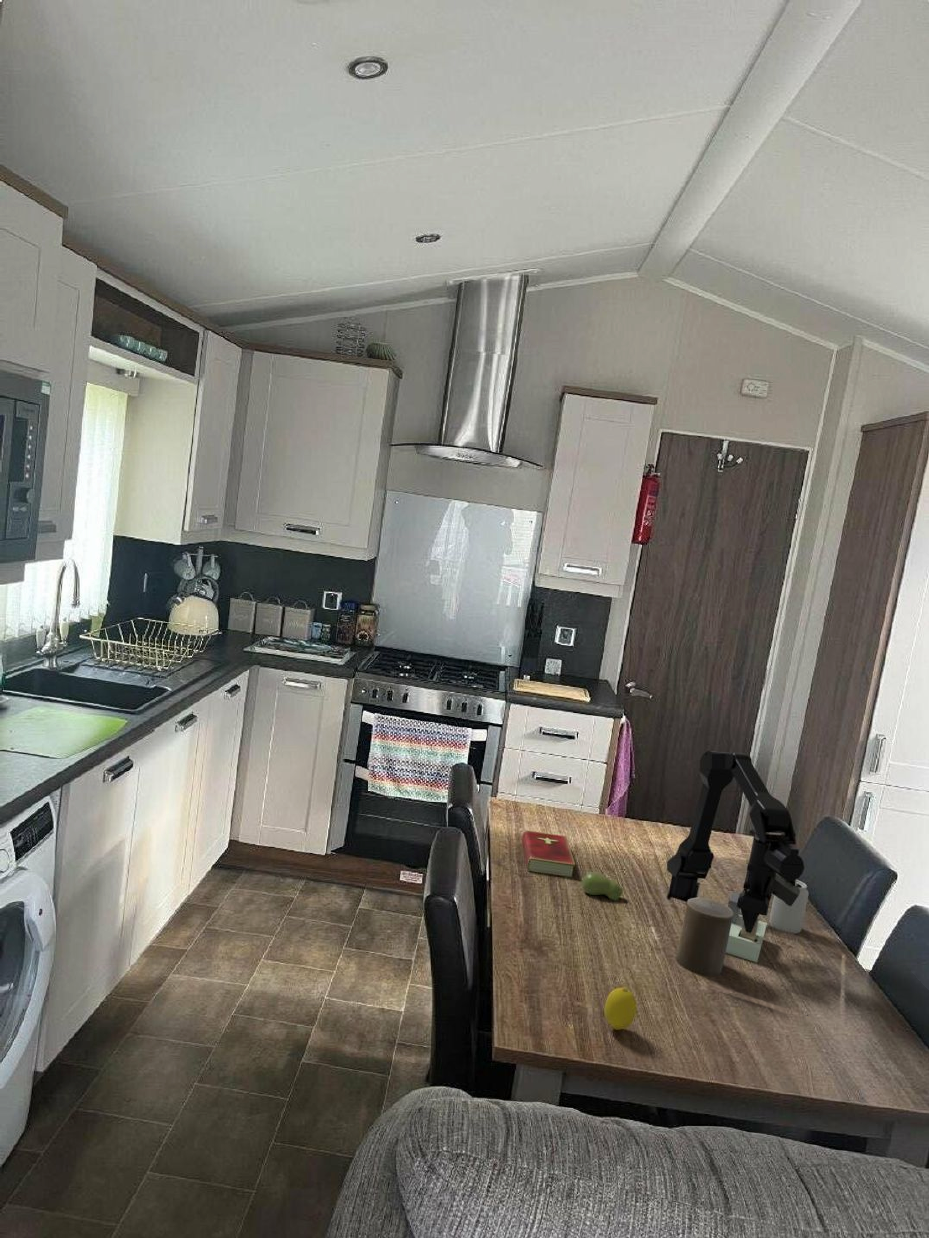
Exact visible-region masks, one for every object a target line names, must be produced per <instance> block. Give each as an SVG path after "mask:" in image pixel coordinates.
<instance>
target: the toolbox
mask: <svg viewBox="0 0 929 1238" xmlns="http://www.w3.org/2000/svg"><path fill="white" fill-rule="evenodd" d="M738 937H740V934H739V936H738ZM763 941H764V940H763ZM763 941H762V944H761V948H760V949H756V948H753V947H750V946H747V945H744V944H740V943H737V942H734V941H731V940H728V943H727V948H726V953H725V954H729V955H732V956H735V957H739V958H741V959H744V960H748V961H751V962H754V963H758V961H759V957H760V954H761V949H762V945H763ZM755 942H757V940H756V939H755Z"/></svg>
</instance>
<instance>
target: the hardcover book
mask: <svg viewBox="0 0 929 1238" xmlns="http://www.w3.org/2000/svg"><path fill="white" fill-rule="evenodd" d="M521 842H522V843H521V844H522V847H523V854H524V859H525V866H526V870H527V872H537V873H542V874H549V875H557V876H563V877H569V878H572V876H573V871H574V870H573V869H574V867H576V861H575V859H574V856H573V853H572V849H571V846H570V844H569V840H568V838H567V835H560V834H555V833H547V832H541V831H534V830H527V829H525V830H524V831H523V833H522V837H521Z"/></svg>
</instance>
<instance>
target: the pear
mask: <svg viewBox="0 0 929 1238" xmlns="http://www.w3.org/2000/svg"><path fill="white" fill-rule="evenodd" d="M581 887H582V890H583V891H584V892H585V893H586V894H588V895H591V896H596V895H605V896H606V897H608V898H609V899H610V900H611V901H614V902H615V901H618V900H619V899H620V897H621V896H622V893H623V890H624V889H623V887H621V886H620V884H618V883H617V882H616V881H613V880H610V879H609V878H608V877H606V876H605V875H603V874H602V873H598V872H593V871H592V872H591V871H589V872H588V873H586V874H585V875H584V876H583V878H582V882H581Z"/></svg>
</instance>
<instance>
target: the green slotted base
mask: <svg viewBox="0 0 929 1238" xmlns="http://www.w3.org/2000/svg"><path fill="white" fill-rule="evenodd" d="M739 895H740V893H738V892H734V891H732V892H731V895H730V896H729V900H728V904H727V907H729V908H730V909H732V911H733V919H732V924H731V929H730V934H729V939H728V940H731V941H734V942H737V943H740V944H744V945H747V946H750V947H753V948H756V949H760V948H761V949H762V946H761V944H762V945H763V942H762V941H764V938H765V937H764V936H765V933H766V929H767V925H768V923H767V922H764V921H762V920H759V921H758V926H757V931H756V936H755V939H756V940H757V942H755V941H751V940H748V939H745V938H742V937H738V936H739V934H740V935H741V930H742V925H743V917H742V914H740V913H741V909H740V908H738V907H737V902H738V898H739ZM761 949H760V950H761Z"/></svg>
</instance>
